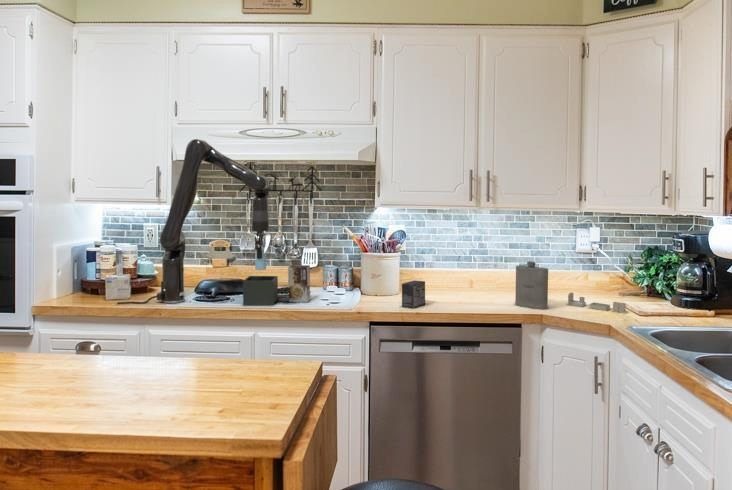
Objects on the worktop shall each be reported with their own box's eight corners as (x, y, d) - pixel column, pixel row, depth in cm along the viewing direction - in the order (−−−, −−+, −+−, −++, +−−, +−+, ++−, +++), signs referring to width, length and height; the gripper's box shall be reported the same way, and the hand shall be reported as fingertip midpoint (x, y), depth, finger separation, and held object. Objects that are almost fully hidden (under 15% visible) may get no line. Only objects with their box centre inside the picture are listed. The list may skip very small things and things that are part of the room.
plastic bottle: (254, 270, 275) (254, 247, 275) (256, 268, 280) (256, 246, 279) (265, 270, 275) (264, 247, 275) (266, 268, 280) (266, 246, 279)
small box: (413, 302, 279) (413, 279, 279) (425, 304, 276) (426, 281, 275) (400, 306, 271) (401, 283, 270) (413, 308, 267) (413, 284, 266)
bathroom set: (567, 304, 276) (567, 293, 276) (571, 303, 279) (571, 291, 279) (624, 313, 260) (624, 300, 259) (627, 311, 263) (628, 299, 263)
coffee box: (310, 299, 285) (310, 265, 284) (307, 302, 278) (307, 267, 278) (291, 299, 286) (291, 264, 285) (288, 302, 279) (287, 266, 279)
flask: (512, 305, 275) (513, 260, 274) (518, 303, 279) (519, 259, 278) (543, 310, 265) (544, 264, 264) (549, 308, 269) (550, 262, 268)
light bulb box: (131, 296, 291) (130, 273, 290) (130, 298, 285) (130, 275, 284) (106, 297, 288) (106, 274, 287) (105, 300, 281) (104, 276, 281)
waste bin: (243, 305, 272) (243, 280, 271) (249, 299, 285) (249, 275, 284) (272, 305, 272) (272, 280, 271) (277, 299, 285) (277, 276, 284)
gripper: (255, 219, 283) (255, 255, 284) (248, 221, 269) (249, 259, 270) (271, 219, 283) (271, 255, 284) (265, 221, 269) (266, 259, 270)
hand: (260, 257), depth 277 cm, fingers closed on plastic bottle, 4 cm apart
